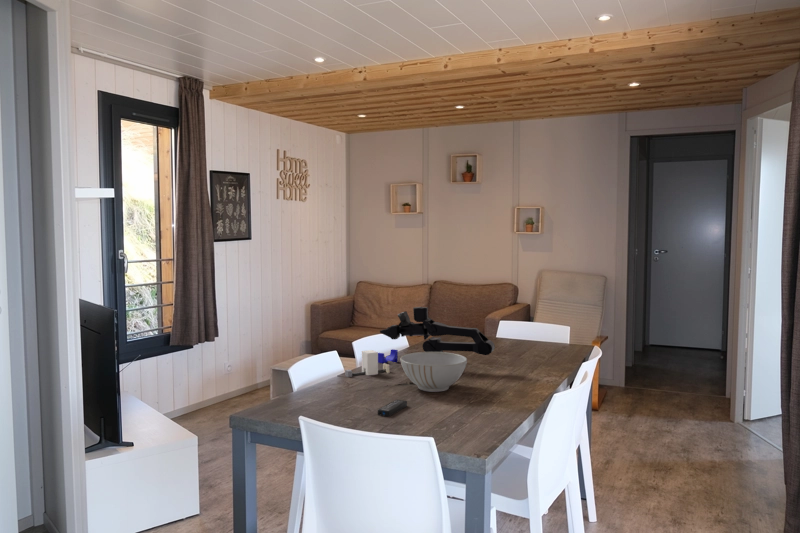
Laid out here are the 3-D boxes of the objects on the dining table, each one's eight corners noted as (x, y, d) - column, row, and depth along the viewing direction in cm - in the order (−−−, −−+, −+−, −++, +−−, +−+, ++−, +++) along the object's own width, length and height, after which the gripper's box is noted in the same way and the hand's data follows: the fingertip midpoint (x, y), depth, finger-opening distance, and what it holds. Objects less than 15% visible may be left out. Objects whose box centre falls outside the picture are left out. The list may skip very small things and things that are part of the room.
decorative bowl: (410, 399, 227) (411, 367, 227) (392, 382, 253) (392, 353, 253) (477, 394, 235) (477, 363, 234) (453, 378, 260) (453, 350, 260)
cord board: (382, 372, 271) (383, 361, 271) (393, 376, 262) (393, 366, 262) (341, 377, 261) (341, 366, 261) (351, 382, 253) (351, 371, 252)
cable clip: (390, 361, 295) (390, 348, 295) (397, 362, 293) (397, 350, 292) (374, 365, 286) (374, 352, 285) (382, 366, 283) (382, 354, 283)
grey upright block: (372, 371, 266) (372, 350, 265) (377, 374, 261) (377, 352, 261) (361, 372, 264) (361, 351, 263) (367, 375, 259) (367, 353, 258)
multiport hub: (407, 407, 218) (407, 400, 218) (388, 418, 205) (388, 411, 205) (396, 405, 220) (396, 399, 220) (377, 416, 207) (377, 409, 207)
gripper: (420, 309, 289) (389, 310, 295) (406, 314, 272) (374, 315, 277) (421, 332, 289) (391, 333, 295) (408, 339, 272) (376, 339, 278)
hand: (383, 330), depth 286 cm, fingers open, 9 cm apart
